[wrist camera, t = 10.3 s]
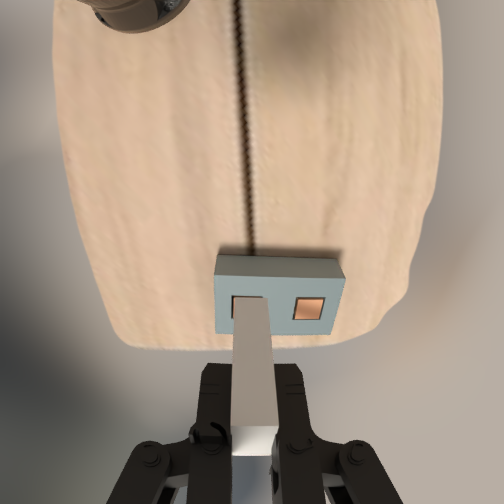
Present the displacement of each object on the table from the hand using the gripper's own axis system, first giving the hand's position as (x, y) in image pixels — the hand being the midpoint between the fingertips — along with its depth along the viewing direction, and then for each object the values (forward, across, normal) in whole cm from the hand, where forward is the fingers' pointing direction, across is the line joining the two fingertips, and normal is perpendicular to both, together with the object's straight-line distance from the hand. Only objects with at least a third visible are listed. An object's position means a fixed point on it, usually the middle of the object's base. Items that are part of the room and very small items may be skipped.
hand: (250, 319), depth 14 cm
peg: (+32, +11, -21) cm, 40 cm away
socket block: (+32, +6, -21) cm, 39 cm away
